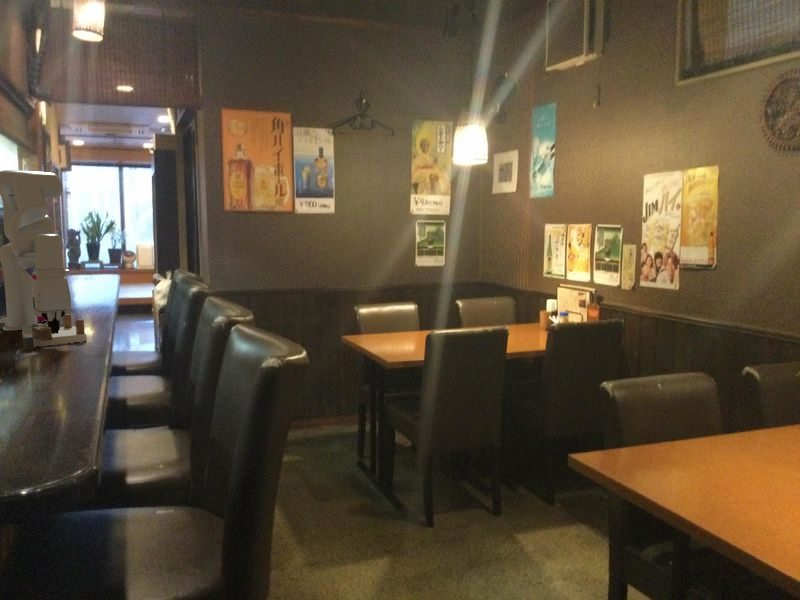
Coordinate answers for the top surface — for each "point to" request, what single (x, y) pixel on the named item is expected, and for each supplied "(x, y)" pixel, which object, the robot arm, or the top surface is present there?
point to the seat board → (63, 337)
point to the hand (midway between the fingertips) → (54, 333)
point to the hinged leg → (42, 333)
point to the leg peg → (53, 317)
